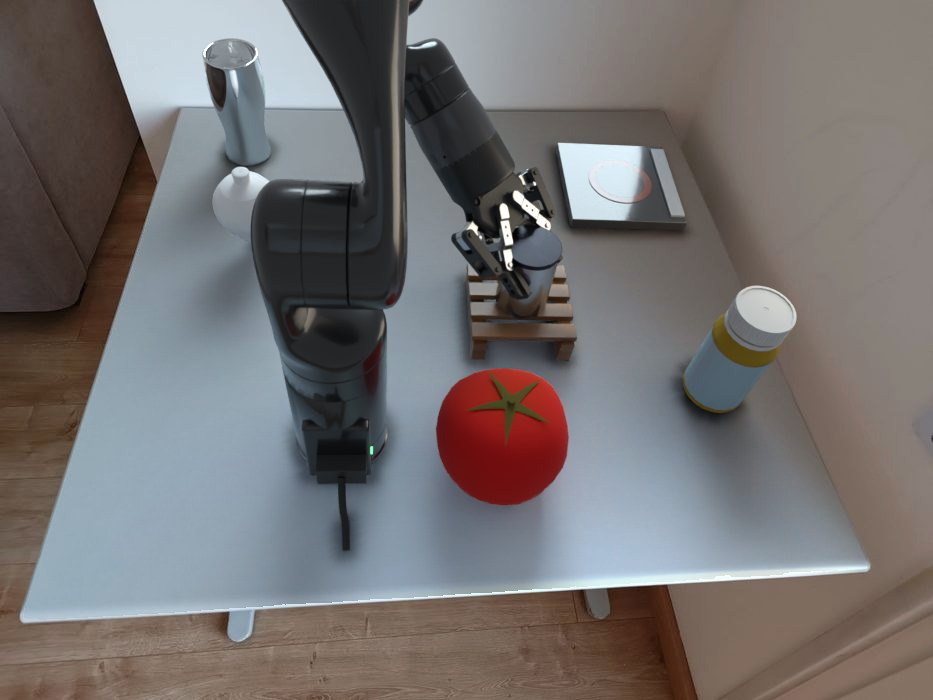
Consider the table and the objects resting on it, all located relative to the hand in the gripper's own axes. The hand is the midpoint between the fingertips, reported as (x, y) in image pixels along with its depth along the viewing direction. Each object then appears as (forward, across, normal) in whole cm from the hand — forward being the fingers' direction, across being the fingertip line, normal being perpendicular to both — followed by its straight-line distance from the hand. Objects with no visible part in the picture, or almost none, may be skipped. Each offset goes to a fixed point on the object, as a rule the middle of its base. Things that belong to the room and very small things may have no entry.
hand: (540, 278), depth 79 cm
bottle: (+22, +6, -9) cm, 24 cm away
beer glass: (-27, +1, +40) cm, 48 cm away
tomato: (+11, -18, +1) cm, 21 cm away
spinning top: (-18, -11, +30) cm, 36 cm away
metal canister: (+2, 0, +5) cm, 5 cm away
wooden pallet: (+5, 0, +7) cm, 9 cm away
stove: (+4, +29, +8) cm, 31 cm away
